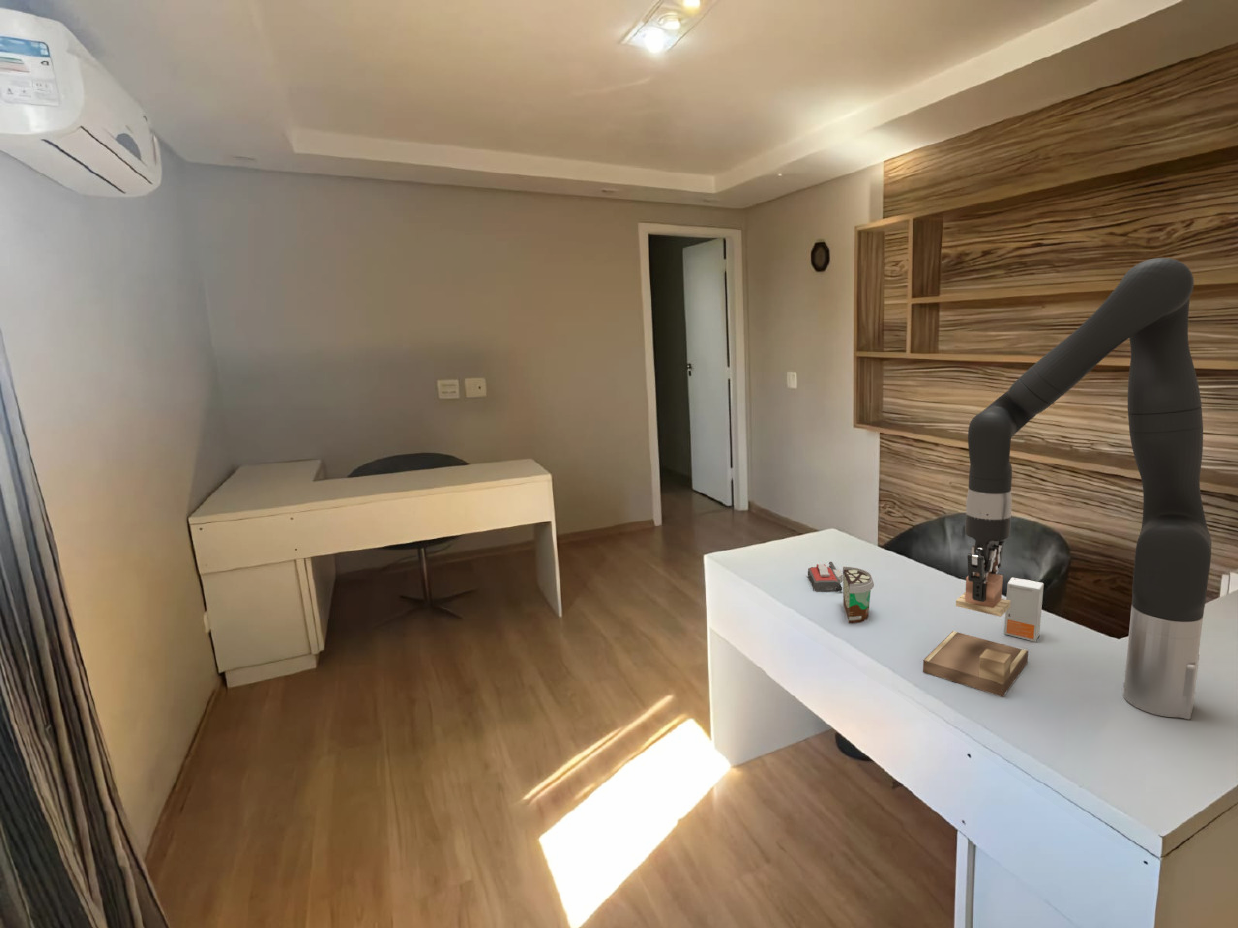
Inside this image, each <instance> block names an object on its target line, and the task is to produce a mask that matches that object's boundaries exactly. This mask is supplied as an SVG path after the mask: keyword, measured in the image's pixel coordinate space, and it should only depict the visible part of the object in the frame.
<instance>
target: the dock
mask: <svg viewBox="0 0 1238 928" xmlns="http://www.w3.org/2000/svg"><path fill="white" fill-rule="evenodd" d="M986 649H990V650H994V651H998V652H1002V653H1006V654H1010V655H1011V659H1010V676H1009V677H1008V678H1007V680H1006V681H1005V682H1004V684H1003V683H999V682H996V681H992V680H988V679H985V678H981V677H979V657H980V656H981V655H982V653H983V652H984V651H985V650H986ZM1028 661H1029V650H1028V649H1025V648H1018V647H1015V646H1012V645H1007V644H1002V643H999V642H995V641H991V640H988V639H984V638H980V637H977V636H973V635H969V634H965V633H961V632H958V631H955V630H952V631H951V632H950V633H949V634H948V635H947V636H946V637H945V638H944V639H943V640H942V641H941V642H940V643H939V644H938V645H937V646H936V647H935V648H934V649H933V650H932V651H931V652H930V653H929V654H928V655H927V656H925V658H924V659H923V662H922V672H923V673H924V674H929V675H930V676H932V675H933V676H936V677H938V678H942V679H944V680H948V681H951V682H954V683H958V684H960V685H964V686H967V687H970V688H974V689H977V690H980V691H983V692H985V693H989V694H992V695H995V696H999V697H1002V698H1003V697H1004V696H1005V694H1006V693H1007V692H1008V691H1009V689H1010V688H1011V686H1012V685H1013V684H1014V682H1015V681H1016V679H1017V678H1018V677H1019V675H1020V674H1021V672H1022V671H1023V670H1024V669H1025V667H1026V666H1027V664H1028Z"/></svg>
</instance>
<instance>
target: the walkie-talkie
mask: <svg viewBox="0 0 1238 928" xmlns="http://www.w3.org/2000/svg"><path fill="white" fill-rule="evenodd" d="M828 564H829V566H827V565H826V564H825V563H824V564H823V563H818V564H816V566H811V567H809V568H808V569H807V577H808V579H809V582H810V584H811V586H812V588H813V590H814V592H816V593H837V592H838V593H839V592H841V591H842V592H843V585H841V583H843V572H842V571H841V569H837V568H836V566H835V564H834V562H832V561H829V562H828Z"/></svg>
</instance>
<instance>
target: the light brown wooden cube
mask: <svg viewBox="0 0 1238 928" xmlns="http://www.w3.org/2000/svg"><path fill="white" fill-rule="evenodd" d="M1010 659H1011V655H1010V654H1006V653H1002V652H998V651H994V650H990V649H986V650H985V651H984V652H983V653H982V655H981V656H980V657H979V677H981V678H985V679H988V680H992V681H996V682H999V683H1003V684H1004V682H1005V681H1006V680H1007V678H1008V677H1009V676H1010Z"/></svg>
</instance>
